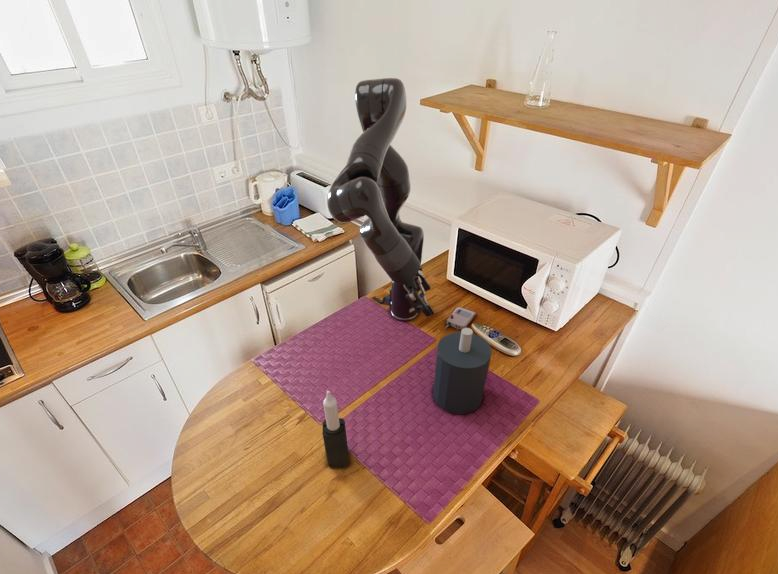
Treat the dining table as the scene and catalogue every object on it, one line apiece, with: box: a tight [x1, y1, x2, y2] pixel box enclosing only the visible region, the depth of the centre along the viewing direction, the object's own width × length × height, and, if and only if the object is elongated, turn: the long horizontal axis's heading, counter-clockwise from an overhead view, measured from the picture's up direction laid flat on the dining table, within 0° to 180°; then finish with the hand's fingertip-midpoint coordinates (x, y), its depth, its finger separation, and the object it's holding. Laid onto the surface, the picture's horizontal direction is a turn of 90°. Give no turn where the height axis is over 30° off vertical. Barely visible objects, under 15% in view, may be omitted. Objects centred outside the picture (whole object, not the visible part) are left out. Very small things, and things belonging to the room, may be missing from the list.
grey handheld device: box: [444, 306, 477, 331], centre depth 146 cm, size 7×16×3 cm, turn 148°
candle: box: [321, 390, 350, 469], centre depth 98 cm, size 5×5×25 cm
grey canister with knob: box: [432, 327, 492, 415], centre depth 114 cm, size 14×14×24 cm
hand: (428, 301), depth 104 cm, fingers open, 8 cm apart
